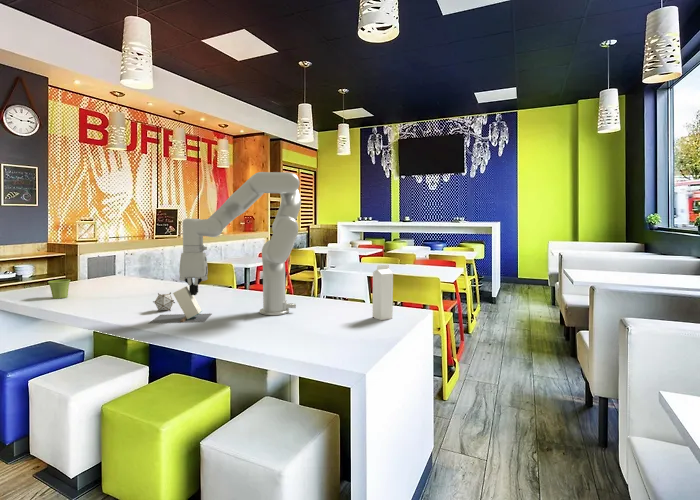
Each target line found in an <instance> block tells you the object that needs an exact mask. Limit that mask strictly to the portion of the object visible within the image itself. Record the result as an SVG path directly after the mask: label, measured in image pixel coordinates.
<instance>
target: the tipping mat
mask: <svg viewBox="0 0 700 500" xmlns="http://www.w3.org/2000/svg"><path fill="white" fill-rule="evenodd" d="M211 315H213V313H200V314H198V315H196V316H194V317H192V318H190V319H188V320H187V318H186V316H185V314H184V313H181V314H178V313H175V314H174V313H173V314H172V313H171V314H159V315H158V316H157V317H155V318H154V319H152V320H151V321H148V323H147V324H150V325H151V324H183V323H185V324H186V323H187V324H188V323H190V324H191V323H205V322H206V321H207V320H208V319H209V318H210V317H211Z"/></svg>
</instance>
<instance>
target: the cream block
mask: <svg viewBox="0 0 700 500" xmlns="http://www.w3.org/2000/svg"><path fill="white" fill-rule="evenodd" d="M172 295H173V296H174V298H175V300H176V302H177V303H178V305H179V308H180V309H181V310H182V312H183V314H185V316H186V318H187V320H188V319H190V318H192V317H194V316H196V315H198V314H202V312H203V310H202V308H201V306H200V305H199V303H198V300H197V299H196V297H195V295H191V293H190V289H189V285H186V286H184V287H182V288H180V289H178V290H176V291H175V292H173V293H172Z"/></svg>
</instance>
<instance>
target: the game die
mask: <svg viewBox="0 0 700 500" xmlns="http://www.w3.org/2000/svg"><path fill="white" fill-rule="evenodd" d="M171 294H172V292H169V293H161V294H160V293H159V292H158V293H157V296H156V299H155V300H153V301H152V303H154V305H155V306H156V308H157V312H158V313H159V312H160V311H169V312H171V308H172V306H173V305H174V304H176V302H175V300H174V299H173V298H172V295H171Z"/></svg>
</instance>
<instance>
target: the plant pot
mask: <svg viewBox="0 0 700 500" xmlns="http://www.w3.org/2000/svg"><path fill="white" fill-rule="evenodd" d="M70 282H71V279H55V280H49V281H47V284H48V285H49V288H50V292H51V296H52V299H55V300H58V299H66V298H68V297H69V288H70V287H69V286H70Z"/></svg>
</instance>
